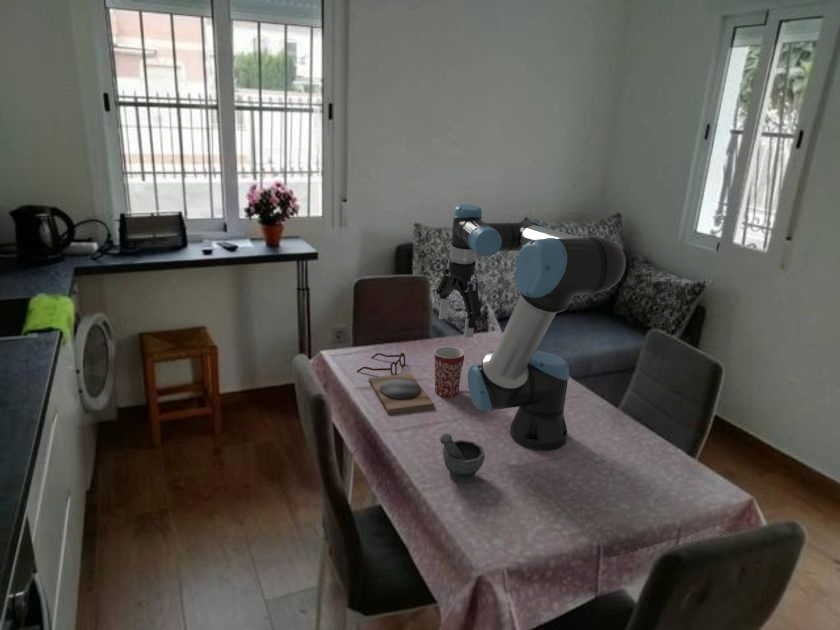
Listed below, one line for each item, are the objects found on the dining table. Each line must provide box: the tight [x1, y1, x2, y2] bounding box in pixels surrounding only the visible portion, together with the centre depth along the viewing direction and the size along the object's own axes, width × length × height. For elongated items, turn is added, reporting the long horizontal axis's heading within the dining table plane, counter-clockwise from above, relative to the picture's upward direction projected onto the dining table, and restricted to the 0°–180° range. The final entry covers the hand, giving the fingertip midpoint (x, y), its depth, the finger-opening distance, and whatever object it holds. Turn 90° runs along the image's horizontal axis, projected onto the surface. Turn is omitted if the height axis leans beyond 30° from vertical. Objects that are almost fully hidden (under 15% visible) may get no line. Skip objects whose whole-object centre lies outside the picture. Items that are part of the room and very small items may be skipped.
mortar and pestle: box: [439, 433, 486, 484], centre depth 142 cm, size 11×9×12 cm
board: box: [368, 372, 435, 415], centre depth 183 cm, size 22×14×2 cm, turn 19°
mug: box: [433, 346, 465, 398], centre depth 186 cm, size 13×9×14 cm
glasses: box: [356, 352, 406, 375], centre depth 202 cm, size 13×13×5 cm
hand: (455, 327), depth 180 cm, fingers open, 13 cm apart
